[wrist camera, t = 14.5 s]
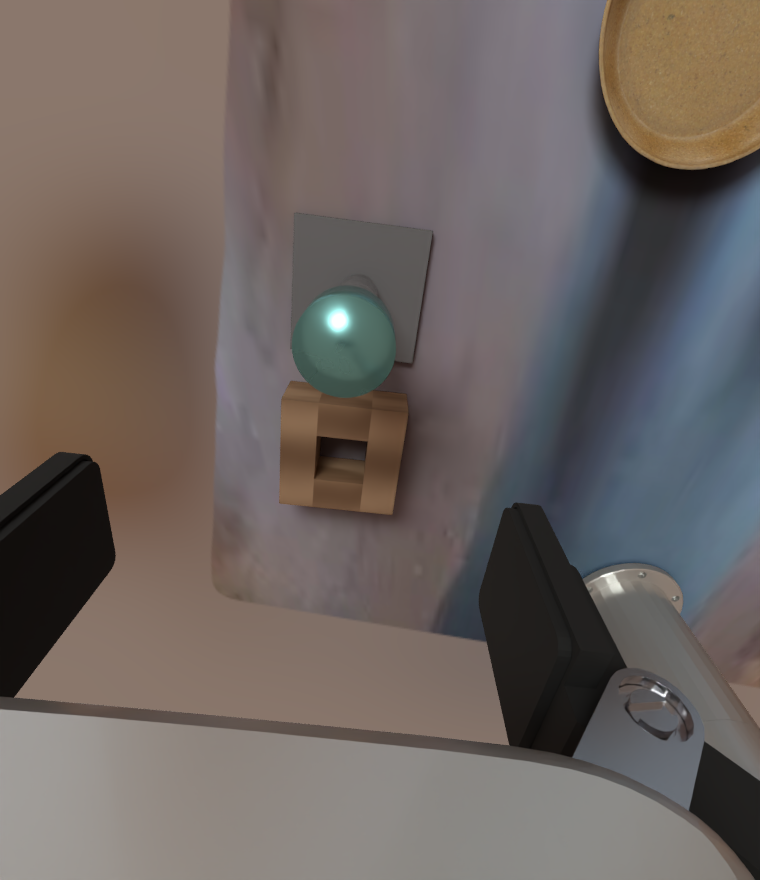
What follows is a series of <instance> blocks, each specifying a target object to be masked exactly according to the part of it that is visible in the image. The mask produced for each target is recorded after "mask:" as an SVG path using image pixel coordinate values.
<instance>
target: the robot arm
mask: <svg viewBox="0 0 760 880" xmlns="http://www.w3.org/2000/svg"><path fill="white" fill-rule="evenodd" d="M115 556H116V555H115V548H114V543H113V538H112V532H111V527H110V521H109V516H108V510H107V505H106V499H105V494H104V489H103V483H102V478H101V473H100V468H99V465H98V464H97V463H96V462H93V461H92V459H91V457H90V456H88V455H84V454H75V453H66V452H58V453H57V454H55V455H54V456H52V457H51V458H49V459H48V460H47V461H45V462H44V463H43V464H41V465H40V466H39V467H37V468H36V469H35V470H33V471H32V472H31V473H29V474H28V475H27V476H25V477H24V478H23V479H22V480H20V481H19V482H17V483H16V484H15V485H13V486H12V487H11V488H9V489H8V490H7V491H6V492H4V493H3V494H1V495H0V880H760V728H759V727H758V725H757V724H756V722H755V721H754V719H753V718H752V717H751V715H750V714H749V712H748V711H747V710H746V708H745V707H744V705H743V704H742V703H741V701H740V700H739V698H738V697H737V695H736V694H735V693H734V691H733V690H732V688H731V687H730V685H729V684H728V682H727V681H726V680H725V678H724V677H723V675H722V674H721V672H720V671H719V670H718V668H717V667H716V665H715V664H714V663H713V661H712V660H711V658H710V657H709V655H708V654H707V653H706V651H705V650H704V648H703V647H702V645H701V644H700V643H699V641H698V640H697V638H696V637H695V635H694V634H693V633H692V631H691V630H690V628H689V627H688V625H687V624H686V623H685V621H684V620H683V618H682V617H681V616H680V612H681V610H682V606H683V594H682V592H681V589H680V587H679V585H678V584H677V583H676V581H675V580H674V579H673V578H672V577H671V576H670V575H669V574H668V573H667V572H665V571H664V570H662V569H660V568H658V567H655V566H652V565H648V564H641V563H625V564H618V565H613V566H609V567H606V568H603V569H600V570H598V571H596V572H594V573H592V574H590V575H588V576H587V577H585V578H583V579H582V577H581V575H580V573H579V572H578V570H577V569H576V568H575V567H574V566H572V565H570V563H569V561H568V559H567V557H566V555H565V553H564V551H563V549H562V547H561V545H560V543H559V541H558V539H557V537H556V535H555V533H554V531H553V529H552V527H551V525H550V523H549V521H548V519H547V517H546V515H545V513H544V511H543V509H542V507H541V506H539V505H533V504H524V503H514V504H513V506H512V508H505V509H504V511H503V514H502V518H501V521H500V524H499V528H498V531H497V535H496V538H495V541H494V545H493V548H492V552H491V555H490V558H489V562H488V565H487V568H486V572H485V575H484V579H483V582H482V585H481V589H480V593H479V609H480V613H481V618H482V622H483V627H484V631H485V636H486V641H487V645H488V650H489V654H490V659H491V663H492V668H493V672H494V677H495V682H496V686H497V690H498V695H499V700H500V705H501V709H502V714H503V718H504V723H505V727H506V731H507V737H508V741H509V745H510V746H509V745H500V744H491V743H483V742H473V741H466V740H457V739H448V738H439V737H430V736H422V735H412V734H401V733H391V732H380V731H370V730H360V729H351V728H340V727H330V726H320V725H310V724H300V723H289V722H278V721H267V720H256V719H246V718H236V717H225V716H214V715H203V714H193V713H182V712H171V711H159V710H149V709H138V708H127V707H115V706H104V705H92V704H81V703H69V702H57V701H46V700H35V699H23V698H14V697H15V695H16V694H17V693H18V691H19V690H20V689H21V688H22V686H23V685H24V683H25V682H26V681H27V680H28V678H29V677H30V676H31V674H32V673H33V672H34V670H35V669H36V668H37V666H38V665H39V664H40V663H41V661H42V660H43V659H44V657H45V656H46V655H47V653H48V652H49V651H50V649H51V648H52V647H53V645H54V644H55V643H56V642H57V640H58V639H59V638H60V636H61V635H62V634H63V632H64V631H65V630H66V628H67V627H68V626H69V624H70V623H71V622H72V620H73V619H74V618H75V617H76V615H77V614H78V613H79V611H80V610H81V609H82V607H83V606H84V605H85V603H86V602H87V601H88V599H89V598H90V597H91V595H92V594H93V593H94V592H95V590H96V589H97V588H98V586H99V585H100V583H101V582H102V581H103V580H104V578H105V577H106V576H107V575H108V573H109V572H110V570H111V569H112V567H113V565H114V561H115Z"/></svg>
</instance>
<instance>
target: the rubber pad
mask: <svg viewBox="0 0 760 880" xmlns="http://www.w3.org/2000/svg"><path fill="white" fill-rule="evenodd" d="M432 233H433V231H431V230H423V229H415V228H408V227H400V226H392V225H385V224H377V223H370V222H362V221H354V220H347V219H339V218H332V217H324V216H316V215H309V214H301V213H294V243H293V278H292V313H291V348H290V349H292V337H293V332H294V329H295V326H296V324H297V322H298V320H299V319H300V317H301V316H302V314H303V313H304V311H305V310H306V309H307V307H308V306H309V304H310V303H311V302H312V301H313V300H314V299H315V298H316V297H317V296H318V295H319V294H321V293H322V292H324V291H325V290H327V289H330V288H333V287H336V286H340V285H341V284H342V282H343V281H344V280H345V279H346V278H347V277H349V276H351V275H354V274H362V275H365V276H367V277H369V278H370V279H371V280H372V281H373V282H374V284H375V285H376V288H377V292H378V298H379V299H380V300H381V301H382V302H383V303H384V304H385V306H386V307H387V309H388V310H389V312H390V314H391V317H392V320H393V324H394V331H395V341H396V356H395V361H397V362H406V363H412V360H413V354H414V348H415V341H416V335H417V329H418V322H419V316H420V310H421V303H422V297H423V290H424V284H425V278H426V271H427V265H428V259H429V252H430V246H431V240H432Z"/></svg>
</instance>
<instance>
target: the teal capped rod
mask: <svg viewBox="0 0 760 880" xmlns="http://www.w3.org/2000/svg"><path fill="white" fill-rule="evenodd" d="M292 353H293V358H294V361H295V364H296V366H297V368H298V370H299V372H300V373H301V375H302V376H303V377H304V379H305V380H306V381H307V382H308V383H309V384H310V385H311V386H313V387H314V388H315V389H317V390H319V391H320V392H323V393H325V394H327V395H330V396H334V397H340V398H352V397H357V396H361V395H364V394H367V393H369V392H371V391H372V390H374V389H375V388H377V387H378V386H379V385H380V384H381V383H382V382H383V381H384V380H385V379H386V378H387V376H388V375H389V373H390V371H391V369H392V367H393V364H394V361H395V356H396V341H395V331H394V324H393V320H392V317H391V314H390V312H389V310H388V309H387V307H386V306H385V304H384V303H383V302H382V301H381V300H380V299H379V298H378V292H377V288H376V285H375V284H374V282H373V281H372V280H371V279H370V278H369V277H367V276H365V275H362V274H354V275H351V276H349V277H347V278H346V279H345V280H344V281H343V282H342V284H341V285H340V286H336V287H333V288H330V289H327V290H325V291H324V292H322V293H321V294H319V295H318V296H317V297H316V298H315V299H314V300H313V301H312V302H311V303H310V304H309V306H308V307H307V309H306V310H305V311H304V313H303V314H302V316H301V317H300V319H299V320H298V322H297V324H296V326H295V329H294V332H293V337H292Z"/></svg>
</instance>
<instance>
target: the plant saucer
mask: <svg viewBox="0 0 760 880" xmlns="http://www.w3.org/2000/svg"><path fill="white" fill-rule="evenodd" d="M599 68H600V80H601V87H602V91H603V96H604V99H605V103H606V106H607V108H608V111H609V113H610V116H611V118H612V120H613V122H614V124H615V126H616V128H617V129H618V131H619V132H620V134H621V135H622V137H623V138H624V139H625V140H626V141H627V143H628V144H629V145H630V146H631V147H632V148H633V149H635V150H636V151H637V152H638V153H640V154H641V155H643V156H644V157H646V158H648V159H649V160H651V161H653V162H655V163H657V164H660V165H663V166H666V167H670V168H677V169H686V170H698V169H706V168H713V167H717V166H720V165H724V164H727V163H730V162H733V161H735V160H738V159H740V158H742V157H745V156H747V155H749V154H751V153H753V152H755V151H756V150H758V149H760V0H607V3H606V7H605V10H604V16H603V20H602V25H601V33H600V42H599Z"/></svg>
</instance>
